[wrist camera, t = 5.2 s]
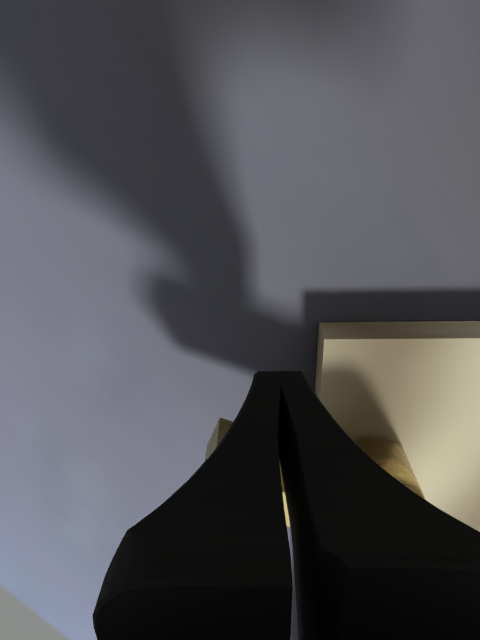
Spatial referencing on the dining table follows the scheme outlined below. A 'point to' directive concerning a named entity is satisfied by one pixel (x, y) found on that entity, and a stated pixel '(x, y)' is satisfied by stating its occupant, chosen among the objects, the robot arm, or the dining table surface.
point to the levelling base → (411, 399)
